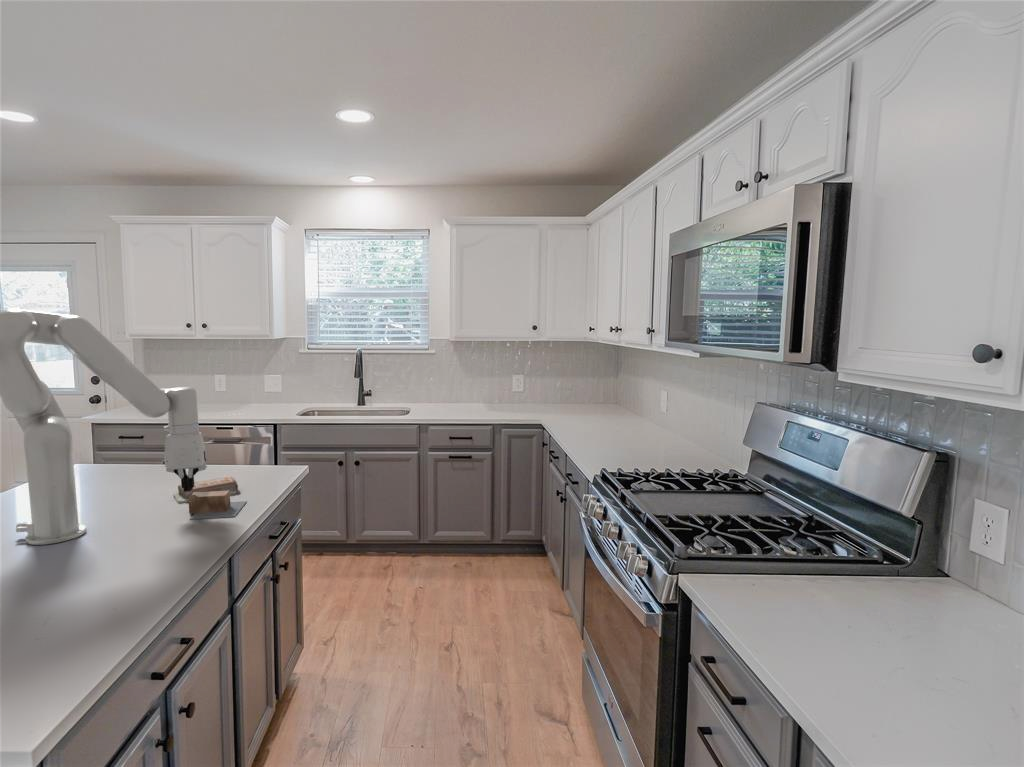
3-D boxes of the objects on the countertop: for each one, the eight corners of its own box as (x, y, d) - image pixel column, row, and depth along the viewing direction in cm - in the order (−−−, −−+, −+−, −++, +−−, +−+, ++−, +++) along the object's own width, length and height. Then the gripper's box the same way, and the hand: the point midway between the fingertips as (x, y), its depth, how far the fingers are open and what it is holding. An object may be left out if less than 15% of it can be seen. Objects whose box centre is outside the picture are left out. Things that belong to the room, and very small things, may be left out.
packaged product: (232, 473, 197) (239, 480, 189) (232, 487, 198) (240, 494, 190) (171, 483, 186) (177, 490, 178) (172, 497, 186) (178, 505, 179)
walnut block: (188, 497, 168) (225, 495, 170) (194, 492, 173) (229, 490, 175) (189, 513, 168) (226, 511, 170) (194, 508, 173) (230, 506, 175)
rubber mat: (189, 519, 164) (189, 518, 164) (205, 504, 178) (205, 503, 178) (234, 516, 167) (234, 515, 167) (246, 502, 180) (246, 501, 180)
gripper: (150, 432, 163) (155, 495, 165) (207, 430, 166) (211, 492, 168) (160, 428, 170) (165, 488, 172) (215, 425, 173) (219, 484, 175)
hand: (188, 489), depth 170 cm, fingers closed
